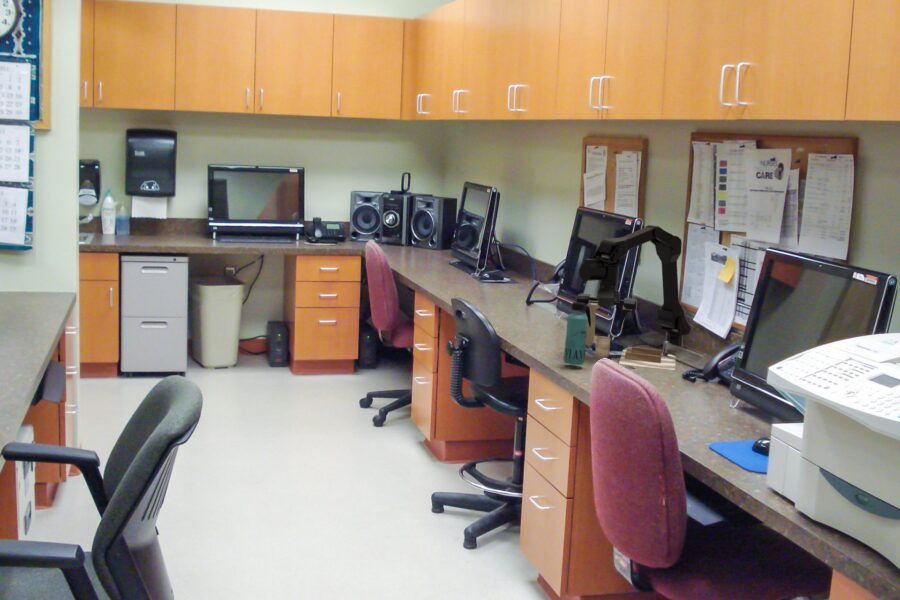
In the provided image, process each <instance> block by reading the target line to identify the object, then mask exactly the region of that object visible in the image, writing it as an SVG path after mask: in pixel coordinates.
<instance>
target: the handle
mask: <svg viewBox="0 0 900 600" xmlns="http://www.w3.org/2000/svg"><path fill="white" fill-rule="evenodd" d="M590 304H591V320H592V322H591V327H589V323H588V322H587V334H586V347H585V348H588V349H589V348H590V347H588V346H593V344H594V340H595V332H596V312H597V310H599V308H600V306H599V305H598V304H597V303H590ZM584 312H585V311H584ZM584 314H585V315H586V312H585V313H584ZM586 316H587V315H586Z"/></svg>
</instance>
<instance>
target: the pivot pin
mask: <svg viewBox="0 0 900 600" xmlns="http://www.w3.org/2000/svg"><path fill="white" fill-rule="evenodd" d="M595 341H596V342H595V351H594V358H595V359H599V360H602V359H601V358H609V359H610V349H611V337H609V336H604V335H603V336H602V335H601V336H596V340H595Z"/></svg>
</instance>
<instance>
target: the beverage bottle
mask: <svg viewBox="0 0 900 600" xmlns="http://www.w3.org/2000/svg"><path fill="white" fill-rule="evenodd" d="M571 305H572V306H571V310H573V311H579V312H571V313H570V314H568V315H567V318H566V320H567V321H566V331H565V332H566V334H565V341H564V352H563V363H564V364H567V365H574V366H580V365H584V363H585V360H586V348H587V347H586V346H587V345H586V334H587V322H588V317H587V316H586V315H585V313H582V312H583V311H584V312H585V303H581V302H577V301H575V302H572V304H571Z"/></svg>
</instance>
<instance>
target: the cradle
mask: <svg viewBox="0 0 900 600" xmlns="http://www.w3.org/2000/svg"><path fill="white" fill-rule="evenodd" d="M662 354H663V349H658V348H657V349H656V348H648V347H646V348H645V347H638V346H629V345H628V346H627V349H623V350H622V353H621V354H620V355H621V356H620V359H619V362H618V365H619V364H621V365H623V366H625V367H626V369H636V368H635V367H643V368H644V367H645V368H652V369H662V370H670V371H671V370H672V371H675V370H676V361H677V360H676V359H677V357H676V356H673V355H671V354H668V355H662ZM633 366H635V367H633Z"/></svg>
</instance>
